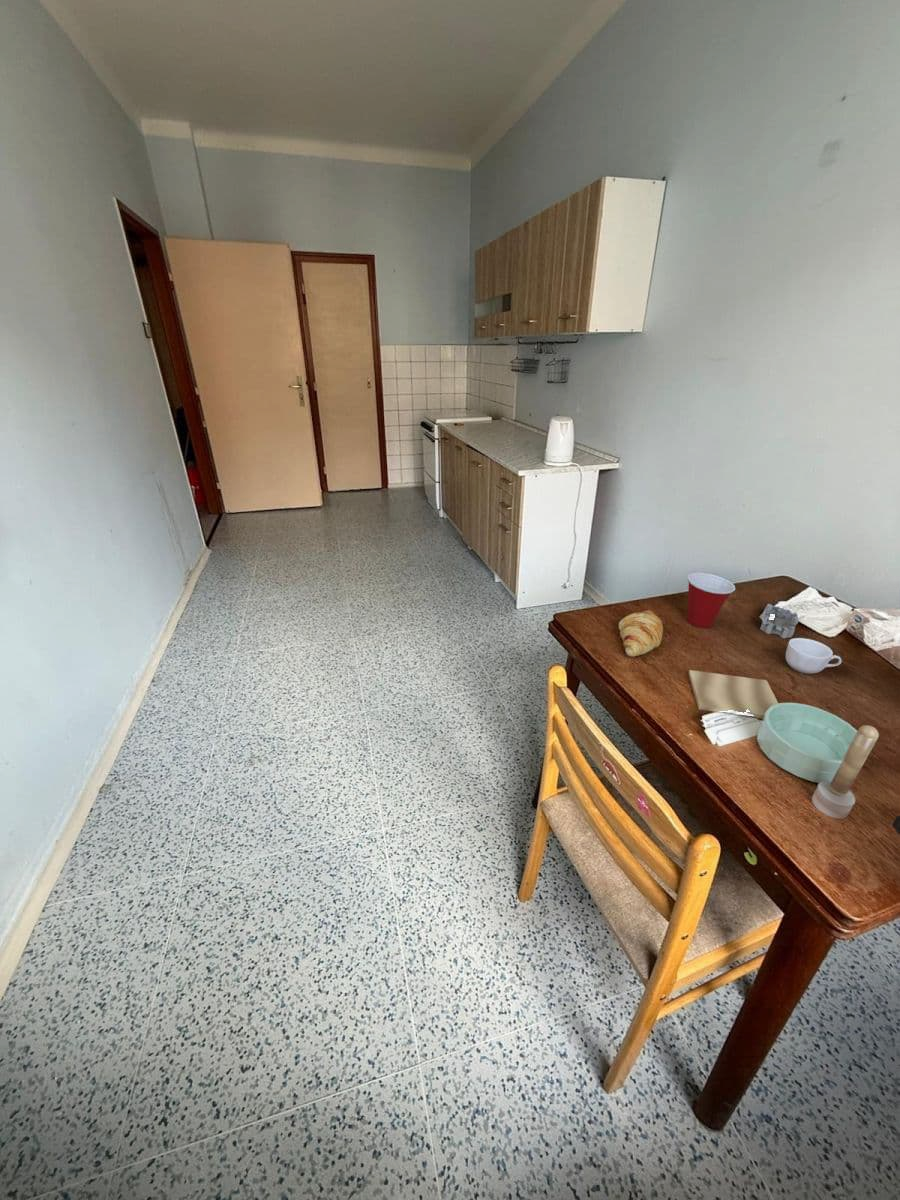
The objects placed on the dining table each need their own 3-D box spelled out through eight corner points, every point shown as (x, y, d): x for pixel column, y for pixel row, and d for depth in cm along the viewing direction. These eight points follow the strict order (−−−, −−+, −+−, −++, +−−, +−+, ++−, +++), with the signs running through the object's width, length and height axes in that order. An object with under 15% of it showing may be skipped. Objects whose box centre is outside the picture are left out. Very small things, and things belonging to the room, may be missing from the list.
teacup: (784, 673, 103) (792, 652, 100) (778, 654, 109) (786, 634, 106) (839, 684, 99) (849, 663, 96) (831, 664, 105) (840, 644, 102)
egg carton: (791, 641, 114) (796, 626, 112) (755, 631, 118) (760, 617, 116) (797, 623, 121) (802, 609, 119) (763, 614, 125) (768, 600, 123)
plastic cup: (728, 636, 116) (741, 592, 110) (680, 630, 119) (691, 587, 113) (719, 614, 125) (731, 573, 119) (675, 609, 128) (684, 569, 122)
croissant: (640, 676, 108) (663, 655, 103) (603, 649, 110) (624, 627, 105) (656, 631, 124) (677, 611, 119) (624, 608, 126) (643, 588, 120)
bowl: (832, 732, 87) (844, 709, 84) (871, 795, 75) (885, 770, 72) (746, 719, 90) (755, 697, 88) (770, 777, 78) (780, 753, 76)
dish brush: (840, 797, 74) (882, 719, 67) (853, 821, 71) (900, 742, 63) (806, 791, 76) (844, 713, 68) (818, 815, 72) (859, 736, 64)
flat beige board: (765, 683, 100) (766, 680, 99) (784, 722, 89) (786, 718, 89) (688, 673, 103) (689, 669, 103) (698, 709, 93) (699, 705, 93)
